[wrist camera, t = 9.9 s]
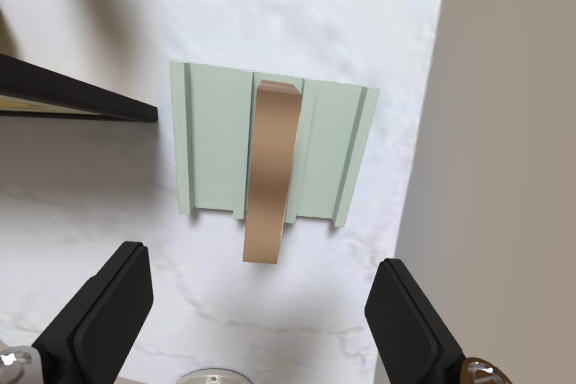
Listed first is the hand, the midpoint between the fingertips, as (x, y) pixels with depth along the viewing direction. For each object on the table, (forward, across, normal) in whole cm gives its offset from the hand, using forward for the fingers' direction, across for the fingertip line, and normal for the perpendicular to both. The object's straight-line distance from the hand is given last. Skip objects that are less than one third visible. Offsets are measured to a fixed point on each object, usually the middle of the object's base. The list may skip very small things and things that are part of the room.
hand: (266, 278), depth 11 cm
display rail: (+16, 0, -1) cm, 16 cm away
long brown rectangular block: (+15, 0, -1) cm, 15 cm away
